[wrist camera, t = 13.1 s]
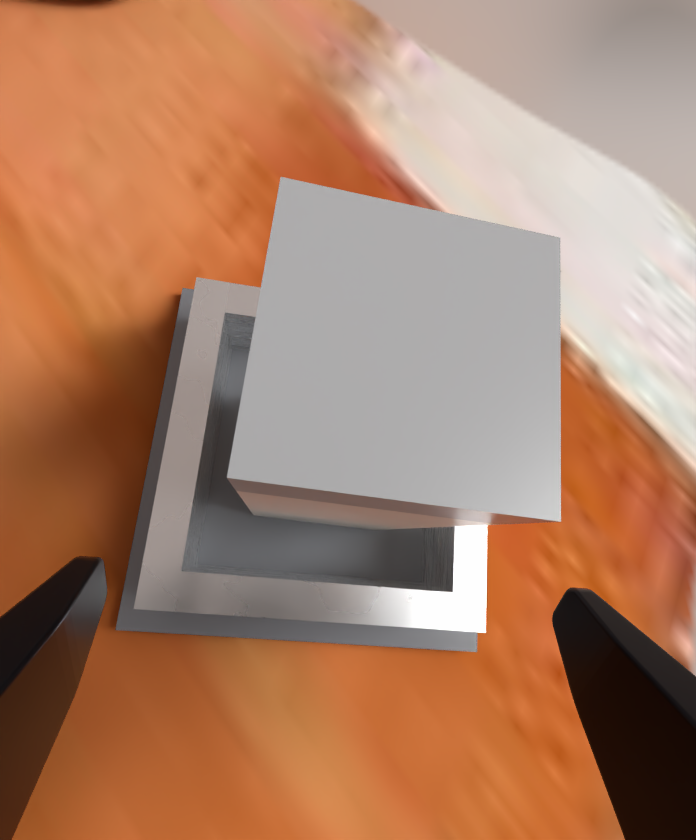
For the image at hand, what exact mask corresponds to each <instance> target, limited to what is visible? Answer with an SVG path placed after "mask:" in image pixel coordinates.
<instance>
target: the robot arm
mask: <svg viewBox="0 0 696 840" xmlns="http://www.w3.org/2000/svg"><path fill="white" fill-rule="evenodd" d="M106 596H107V583H106V575H105V567H104V562H103V560H102V559H101V558H99V557H88V556H79V557H76V558H74V559H73V560H71V561H70V562H69V563H68V564H66V565H65V566H64V567H63V568H61V569H60V570H59V571H57V572H56V573H55V574H54V575H52V576H51V577H50V578H49V579H47V580H46V581H45V582H44V583H42V584H41V585H40V586H39V587H37V588H36V589H35V590H34V591H32V592H31V593H30V594H29V595H27V596H26V597H25V598H24V599H22V600H21V601H20V602H19V603H17V604H16V605H15V606H14V607H12V608H11V609H10V610H9V611H7V612H6V613H5V614H4V615H2V616H1V617H0V840H12V838H13V835H14V833H15V831H16V829H17V826H18V824H19V822H20V819H21V817H22V815H23V813H24V810H25V808H26V806H27V804H28V801H29V799H30V797H31V794H32V792H33V790H34V788H35V785H36V783H37V781H38V778H39V776H40V774H41V772H42V769H43V767H44V765H45V762H46V760H47V758H48V756H49V753H50V751H51V749H52V746H53V744H54V742H55V740H56V737H57V735H58V733H59V730H60V728H61V726H62V724H63V721H64V719H65V717H66V714H67V712H68V710H69V708H70V705H71V703H72V701H73V698H74V696H75V693H76V691H77V688H78V685H79V682H80V679H81V676H82V673H83V670H84V667H85V664H86V661H87V658H88V654H89V651H90V648H91V645H92V642H93V639H94V635H95V632H96V629H97V626H98V623H99V620H100V617H101V613H102V610H103V607H104V604H105V601H106ZM552 622H553V627H554V631H555V635H556V638H557V642H558V646H559V650H560V653H561V657H562V661H563V664H564V668H565V672H566V675H567V679H568V683H569V686H570V690H571V693H572V696H573V700H574V703H575V706H576V709H577V711H578V714H579V717H580V720H581V722H582V725H583V728H584V730H585V733H586V736H587V738H588V741H589V744H590V747H591V749H592V752H593V755H594V757H595V760H596V763H597V765H598V768H599V771H600V773H601V776H602V779H603V781H604V784H605V787H606V789H607V792H608V795H609V797H610V800H611V803H612V805H613V808H614V811H615V814H616V816H617V819H618V822H619V824H620V827H621V830H622V832H623V835H624V838H625V840H696V676H695V675H693V674H692V673H691V672H690V671H689V670H687V669H686V668H685V667H684V666H683V665H681V664H680V663H679V662H678V661H676V660H675V659H674V658H673V657H672V656H670V655H669V654H668V653H667V652H666V651H664V650H663V649H662V648H661V647H660V646H658V645H657V644H656V643H655V642H654V641H652V640H651V639H650V638H649V637H647V636H646V635H645V634H644V633H643V632H641V631H640V630H639V629H638V628H637V627H635V626H634V625H633V624H632V623H631V622H629V621H628V620H627V619H626V618H625V617H623V616H622V615H621V614H620V613H619V612H617V611H616V610H615V609H614V608H612V607H611V606H610V605H609V604H608V603H606V602H605V601H604V600H603V599H602V598H600V597H599V596H598V595H597V594H596V593H594V592H593V591H591V590H590V589H586V588H569V589H568V590H567V591H566V592H565V594H564V595H563V597H562V599H561V600H560V602H559V604H558V605H557V607H556V609H555V611H554V613H553V617H552Z"/></svg>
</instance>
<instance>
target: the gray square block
mask: <svg viewBox="0 0 696 840" xmlns="http://www.w3.org/2000/svg"><path fill="white" fill-rule="evenodd" d="M227 479H228V480H229V482H230V483H231V484H232V486H233V487H234V489H235V490H236V491H237V493H238V494H239V496H240V497H241V498H242V500H243V501H244V503H245V504H246V505H247V507H248V508H249V510H250V511H251V512H252V514H253V515H255V516H263V517H271V518H279V519H288V520H296V521H304V522H312V523H320V524H328V525H337V526H345V527H353V528H361V529H369V530H388V529H410V528H432V527H454V526H477V525H499V524H521V523H543V522H561V379H560V238H559V237H555V236H550V235H546V234H541V233H536V232H532V231H527V230H523V229H518V228H513V227H509V226H504V225H500V224H495V223H490V222H486V221H481V220H477V219H472V218H467V217H463V216H458V215H454V214H449V213H444V212H440V211H435V210H431V209H426V208H421V207H417V206H412V205H408V204H403V203H398V202H394V201H389V200H385V199H380V198H375V197H371V196H366V195H362V194H357V193H353V192H348V191H343V190H339V189H334V188H330V187H325V186H320V185H316V184H311V183H307V182H302V181H297V180H293V179H288V178H284V177H281V178H280V184H279V190H278V195H277V201H276V206H275V212H274V217H273V223H272V229H271V234H270V240H269V245H268V251H267V256H266V262H265V268H264V273H263V279H262V284H261V290H260V295H259V301H258V307H257V312H256V318H255V323H254V329H253V334H252V340H251V346H250V351H249V357H248V362H247V368H246V373H245V379H244V385H243V390H242V396H241V401H240V407H239V412H238V418H237V424H236V429H235V435H234V440H233V446H232V451H231V457H230V463H229V468H228V474H227Z"/></svg>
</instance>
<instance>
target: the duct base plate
mask: <svg viewBox="0 0 696 840" xmlns="http://www.w3.org/2000/svg"><path fill="white" fill-rule="evenodd" d="M193 294H194V290H192V289H186V288H183V289H182V294H181V299H180V305H179V310H178V315H177V320H176V325H175V330H174V335H173V340H172V345H171V350H170V355H169V360H168V365H167V371H166V376H165V381H164V386H163V391H162V396H161V401H160V406H159V411H158V416H157V421H156V426H155V431H154V437H153V442H152V447H151V452H150V457H149V462H148V467H147V472H146V477H145V482H144V487H143V492H142V497H141V503H140V508H139V513H138V518H137V523H136V528H135V533H134V538H133V543H132V548H131V553H130V558H129V563H128V569H127V574H126V579H125V584H124V589H123V594H122V599H121V604H120V609H119V614H118V619H117V624H116V629H115V630H124V631H140V632H157V633H173V634H190V635H206V636H223V637H239V638H256V639H272V640H288V641H305V642H321V643H338V644H354V645H371V646H387V647H404V648H420V649H437V650H453V651H469V652H477V632H468V631H453V630H438V629H423V628H409V627H394V626H379V625H364V624H349V623H334V622H319V621H304V620H289V619H274V618H259V617H244V616H229V615H214V614H199V613H184V612H169V611H155V610H140V609H134V604H135V599H136V594H137V588H138V583H139V578H140V573H141V567H142V562H143V557H144V552H145V546H146V541H147V536H148V531H149V525H150V520H151V515H152V509H153V504H154V499H155V494H156V488H157V483H158V478H159V473H160V467H161V462H162V457H163V452H164V446H165V441H166V436H167V430H168V425H169V420H170V415H171V409H172V404H173V399H174V394H175V388H176V383H177V378H178V373H179V367H180V362H181V357H182V352H183V346H184V341H185V336H186V330H187V325H188V320H189V315H190V309H191V304H192V299H193ZM248 357H249V351H244V350H237V349H232V352H231V358H230V364H229V370H228V376H227V383H226V389H225V395H224V401H223V407H222V413H221V420H220V426H219V432H218V438H217V444H216V451H215V457H214V463H213V469H212V475H211V481H210V488H209V494H208V500H207V506H206V512H205V519H204V525H203V531H202V537H201V543H200V549H199V556H198V562H197V565H210V566H222V567H234V568H247V569H259V570H271V571H284V572H296V573H308V574H321V575H333V576H346V577H358V578H370V579H383V580H395V581H407V582H420V583H421V570H422V549H423V528H410V529H388V530H369V529H361V528H353V527H345V526H337V525H328V524H320V523H312V522H304V521H296V520H288V519H279V518H271V517H263V516H255V515H253V514H252V512H251V511H250V510H249V508H248V507H247V505H246V504H245V503H244V501H243V500H242V498H241V497H240V496H239V494H238V493H237V491H236V490H235V489H234V487H233V486H232V484H231V483H230V482H229V480H228V479H227V474H228V468H229V463H230V457H231V451H232V446H233V440H234V435H235V429H236V424H237V418H238V412H239V407H240V401H241V396H242V390H243V385H244V379H245V373H246V368H247V362H248Z"/></svg>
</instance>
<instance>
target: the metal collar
mask: <svg viewBox="0 0 696 840" xmlns="http://www.w3.org/2000/svg"><path fill="white" fill-rule="evenodd" d="M260 290H261V288H259V287H253V286H247V285H240V284H234V283H228V282H222V281H216V280H210V279H204V278H196V283H195V288H194V294H193V299H192V304H191V309H190V315H189V320H188V325H187V330H186V336H185V341H184V346H183V352H182V357H181V362H180V367H179V373H178V378H177V383H176V388H175V394H174V399H173V404H172V409H171V415H170V420H169V425H168V430H167V436H166V441H165V446H164V452H163V457H162V462H161V467H160V473H159V478H158V483H157V488H156V494H155V499H154V504H153V509H152V515H151V520H150V525H149V531H148V536H147V541H146V546H145V552H144V557H143V562H142V567H141V573H140V578H139V583H138V588H137V594H136V599H135V604H134V609H140V610H155V611H169V612H184V613H199V614H214V615H229V616H244V617H259V618H274V619H289V620H304V621H319V622H334V623H349V624H364V625H379V626H394V627H409V628H423V629H438V630H453V631H468V632H483V633H486V566H487V525H477V526H454V527H432V528H423V549H422V570H421V583H420V582H407V581H395V580H383V579H370V578H358V577H346V576H333V575H321V574H308V573H296V572H284V571H271V570H259V569H247V568H234V567H222V566H210V565H197V562H198V556H199V549H200V543H201V537H202V531H203V525H204V519H205V512H206V506H207V500H208V494H209V488H210V481H211V475H212V469H213V463H214V457H215V451H216V444H217V438H218V432H219V426H220V420H221V413H222V407H223V401H224V395H225V389H226V383H227V376H228V370H229V364H230V358H231V352H232V349H237V350H244V351H250V346H251V340H252V334H253V329H254V323H255V318H256V312H257V307H258V301H259V295H260Z"/></svg>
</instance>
